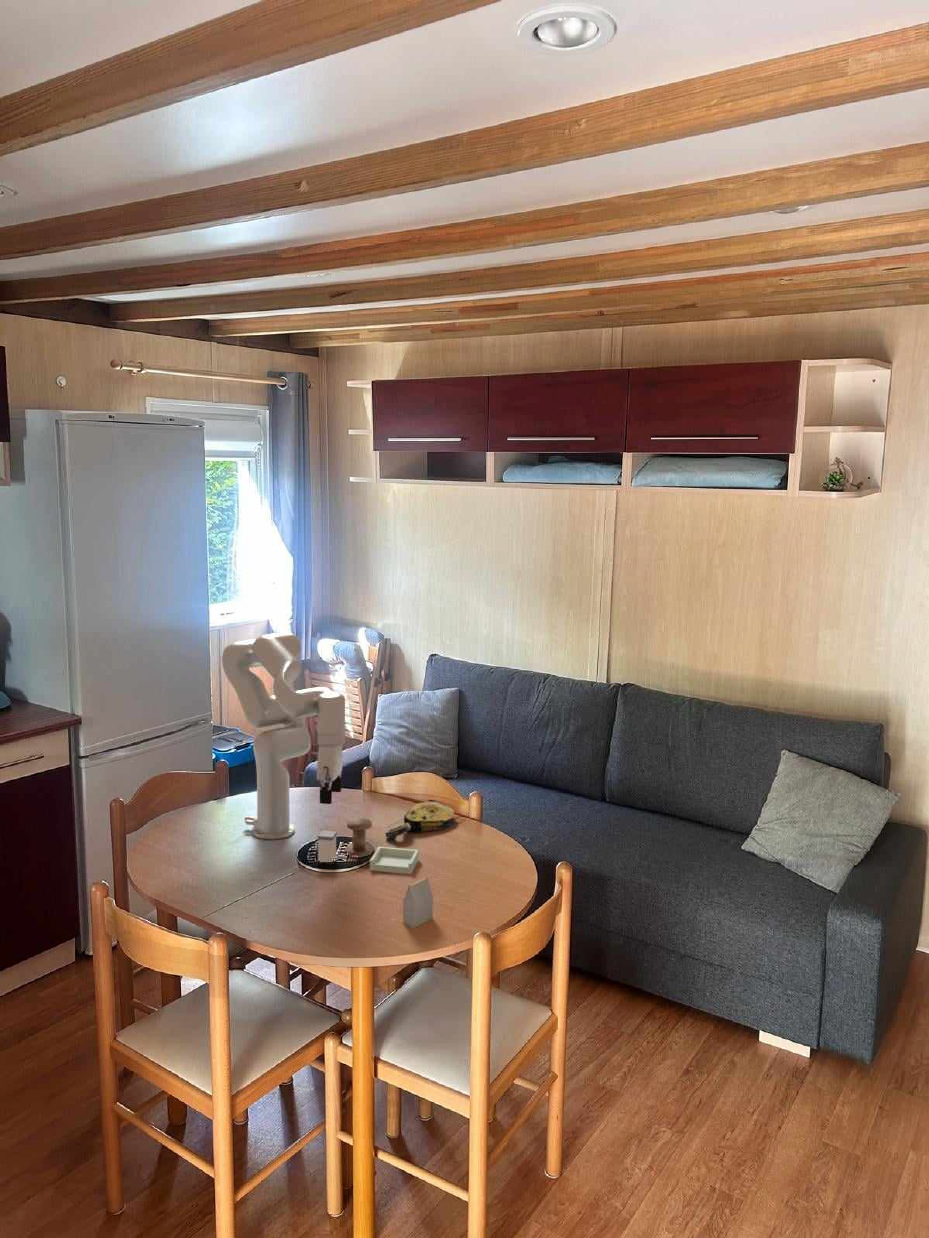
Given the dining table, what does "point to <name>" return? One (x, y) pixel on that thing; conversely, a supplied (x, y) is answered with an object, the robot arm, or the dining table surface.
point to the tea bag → (418, 903)
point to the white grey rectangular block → (327, 846)
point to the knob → (359, 837)
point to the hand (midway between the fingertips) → (330, 797)
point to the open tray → (394, 860)
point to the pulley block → (425, 818)
